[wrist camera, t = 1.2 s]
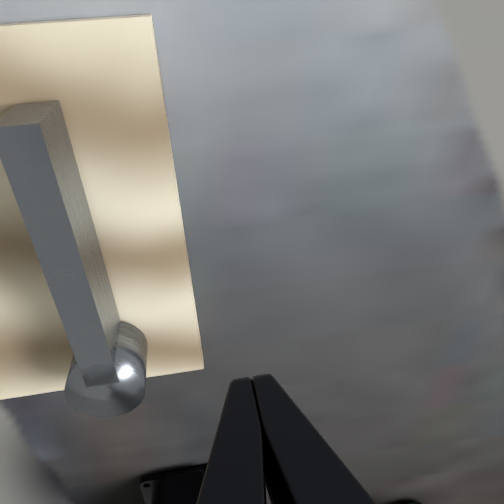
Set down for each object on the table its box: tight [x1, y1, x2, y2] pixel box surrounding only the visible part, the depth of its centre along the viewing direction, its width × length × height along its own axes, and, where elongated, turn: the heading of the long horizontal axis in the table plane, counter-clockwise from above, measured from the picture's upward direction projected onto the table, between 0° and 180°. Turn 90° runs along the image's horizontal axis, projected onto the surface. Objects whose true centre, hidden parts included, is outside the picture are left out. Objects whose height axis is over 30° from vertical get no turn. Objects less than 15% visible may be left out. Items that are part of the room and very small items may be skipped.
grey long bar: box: [0, 100, 148, 417], centre depth 19 cm, size 14×4×3 cm, turn 3°
